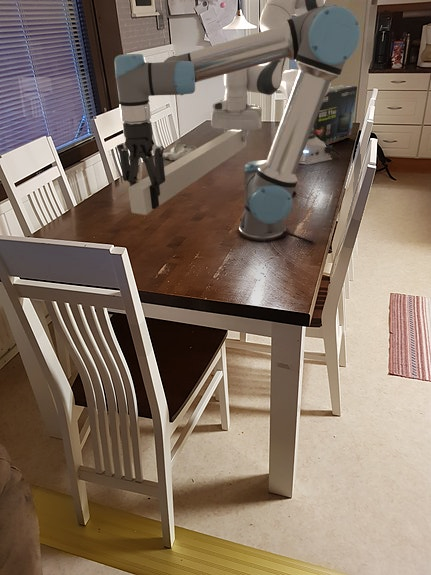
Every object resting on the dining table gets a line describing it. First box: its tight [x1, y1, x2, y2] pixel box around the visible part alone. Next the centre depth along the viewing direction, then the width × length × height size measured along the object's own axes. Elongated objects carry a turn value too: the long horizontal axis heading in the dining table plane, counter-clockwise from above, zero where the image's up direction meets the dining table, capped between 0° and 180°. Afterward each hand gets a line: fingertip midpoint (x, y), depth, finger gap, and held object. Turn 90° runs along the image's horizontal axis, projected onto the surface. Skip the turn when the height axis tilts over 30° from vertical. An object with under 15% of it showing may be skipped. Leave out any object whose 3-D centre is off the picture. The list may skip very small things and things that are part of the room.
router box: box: [313, 84, 358, 144], centre depth 238 cm, size 36×11×27 cm, turn 134°
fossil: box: [163, 142, 197, 162], centre depth 229 cm, size 18×11×15 cm
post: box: [127, 129, 247, 216], centre depth 156 cm, size 78×5×7 cm, turn 156°
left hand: (147, 205), depth 131 cm, fingers closed on post, 5 cm apart
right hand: (236, 140), depth 182 cm, fingers closed on post, 5 cm apart
